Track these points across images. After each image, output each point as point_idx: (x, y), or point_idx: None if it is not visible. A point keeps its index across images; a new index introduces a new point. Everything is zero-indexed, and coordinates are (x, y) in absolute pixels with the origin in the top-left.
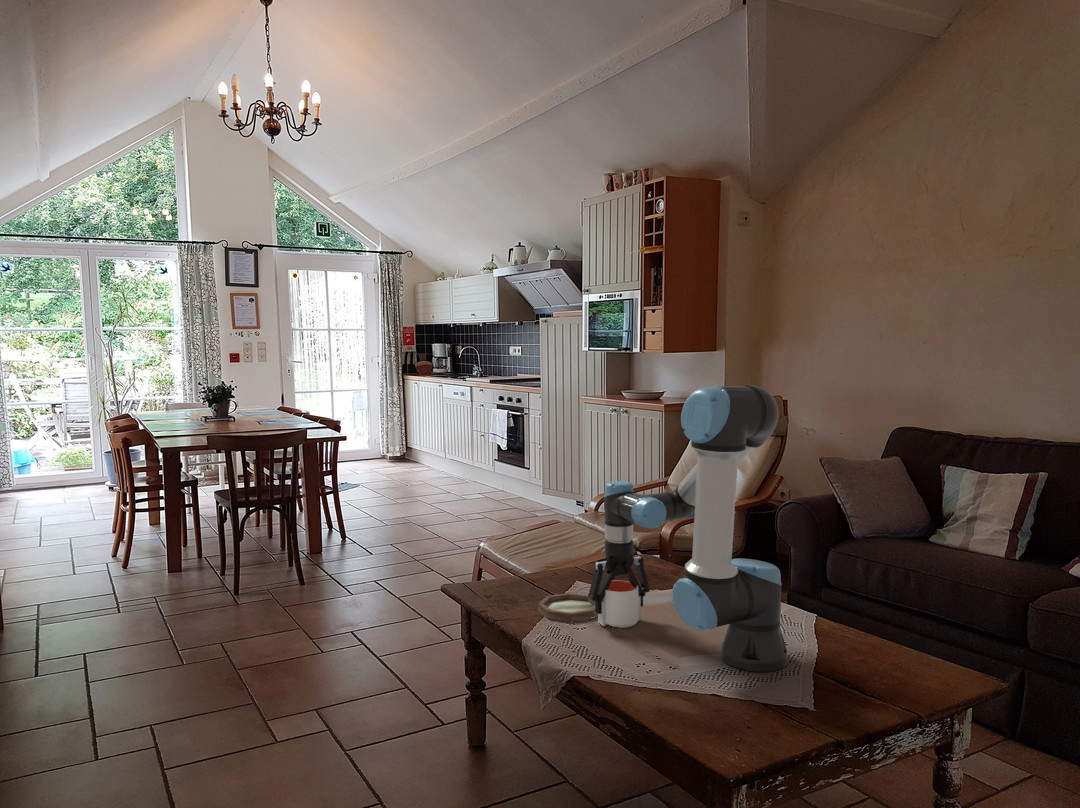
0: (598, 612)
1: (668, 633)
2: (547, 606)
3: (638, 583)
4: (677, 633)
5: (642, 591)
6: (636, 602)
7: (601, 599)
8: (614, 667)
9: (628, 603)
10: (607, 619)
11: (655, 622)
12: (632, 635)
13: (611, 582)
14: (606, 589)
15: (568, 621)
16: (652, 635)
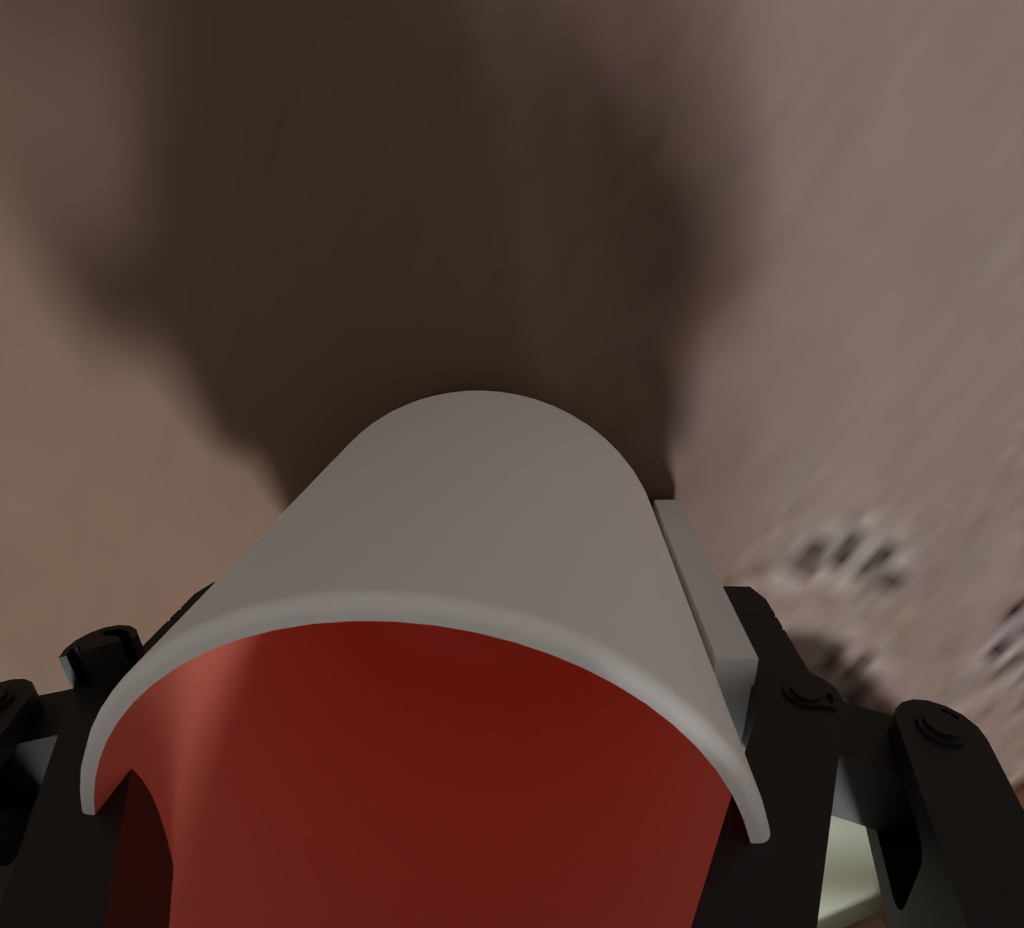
0: (754, 596)
1: (148, 100)
2: (826, 923)
3: (32, 837)
4: (52, 56)
5: (84, 700)
6: (285, 512)
7: (793, 699)
8: None
9: (434, 480)
10: (654, 515)
11: (190, 422)
12: (524, 211)
13: None
14: (747, 848)
15: (844, 700)
16: (330, 119)
